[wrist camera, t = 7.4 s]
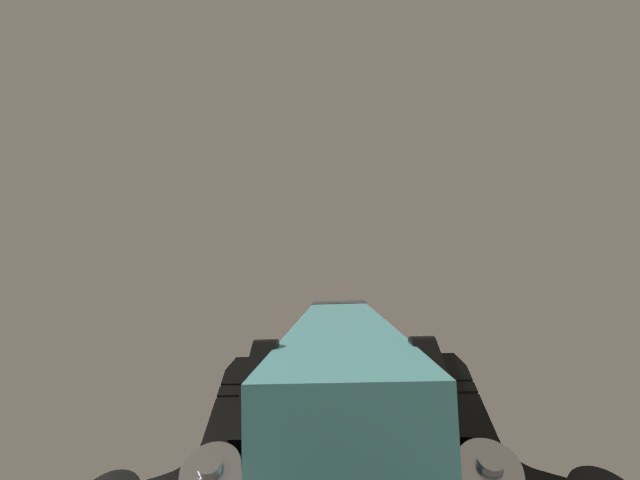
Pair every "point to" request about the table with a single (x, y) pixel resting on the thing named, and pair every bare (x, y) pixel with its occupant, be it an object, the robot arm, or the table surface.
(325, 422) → the teal bar
